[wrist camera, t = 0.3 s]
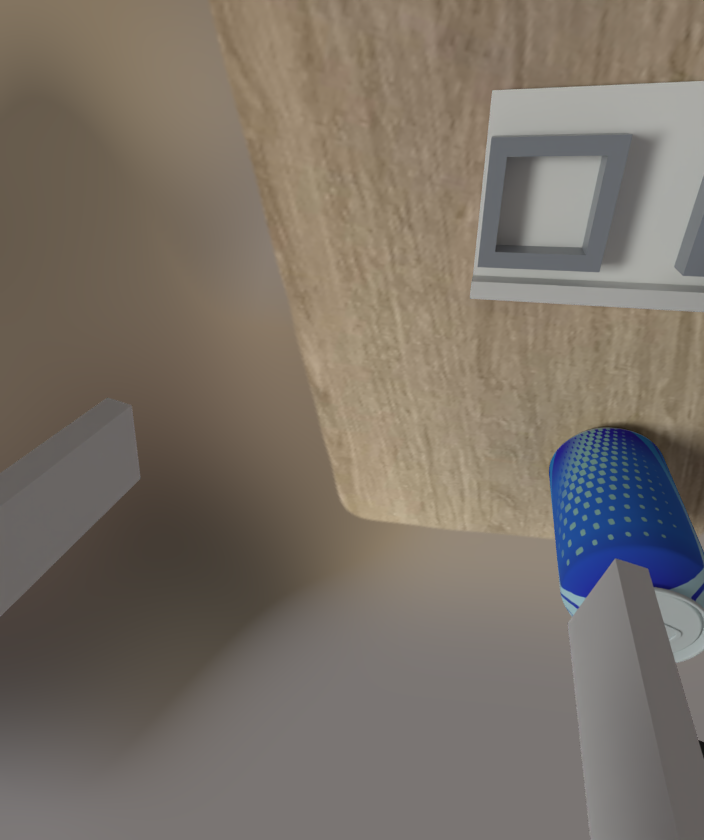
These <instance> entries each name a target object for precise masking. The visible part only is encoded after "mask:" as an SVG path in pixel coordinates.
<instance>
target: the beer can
mask: <svg viewBox="0 0 704 840" xmlns="http://www.w3.org/2000/svg"><path fill="white" fill-rule="evenodd" d="M549 477H550V488H551V498H552V509H553V519H554V529H555V540H556V550H557V561H558V571H559V582H560V591H561V597H562V600H563V603H564V605H565V607H566V609H567V610H568V612H569V613H570V615H571V616H572V617H573V615H574V614H575V612H576V611H577V610H578V608H579V607H580V606H581V604H582V603H583V602H584V600H585V599H586V597H587V596H588V595H589V593H590V592H591V591H592V589H593V588H594V587H595V585H596V584H597V582H598V581H599V580H600V578H601V577H602V576H603V574H604V573H605V572H606V570H607V569H608V567H609V566H610V565H611V563H612V562H613V561H614V559H615V558H616V559H619V560H622V561H626V562H629V563H632V564H635V565H638V566H641V567H645V568H648V570H649V573H650V577H651V580H652V584H653V587H654V591H655V594H656V597H657V601H658V604H659V608H660V611H661V614H662V618H663V621H664V625H665V628H666V632H667V635H668V638H669V642H670V645H671V649H672V652H673V655H674V659H675V662H676V663H678V662H682V661H685V660H688V659H690V658H693V657H694V656H696V655H698V654H699V653H701V652H702V651H704V552H703V549H702V546H701V544H700V542H699V539H698V537H697V535H696V532H695V530H694V528H693V525H692V523H691V521H690V518H689V516H688V514H687V511H686V509H685V507H684V504H683V502H682V500H681V497H680V495H679V492H678V490H677V488H676V485H675V483H674V481H673V478H672V476H671V474H670V471H669V469H668V467H667V464H666V462H665V460H664V457H663V455H662V453H661V451H660V450H659V449H658V447H657V446H656V445H655V444H654V443H653V442H652V441H650V440H649V439H648V438H646V437H645V436H643V435H641V434H638V433H636V432H633V431H630V430H626V429H620V428H611V427H602V428H594V429H590V430H586V431H584V432H581V433H579V434H577V435H575V436H574V437H572V438H570V439H569V440H567V441H566V442H565V443H563V444H562V445H561V446H560V447H559V448H558V449H557V451H556V452H555V454H554V455H553V457H552V460H551V463H550V467H549Z"/></svg>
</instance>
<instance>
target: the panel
mask: <svg viewBox="0 0 704 840" xmlns="http://www.w3.org/2000/svg"><path fill="white" fill-rule="evenodd" d="M470 299H487V300H504V301H521V302H538V303H555V304H572V305H590V306H607V307H624V308H641V309H658V310H675V311H693V312H704V81H692V82H670V83H648V84H625V85H603V86H580V87H558V88H536V89H513V90H492V99H491V108H490V118H489V128H488V137H487V147H486V156H485V166H484V176H483V185H482V195H481V205H480V214H479V224H478V234H477V243H476V253H475V262H474V272H473V278H472V283H471V293H470Z"/></svg>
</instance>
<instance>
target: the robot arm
mask: <svg viewBox="0 0 704 840" xmlns="http://www.w3.org/2000/svg"><path fill="white" fill-rule="evenodd" d="M139 479H140V470H139V463H138V454H137V445H136V437H135V429H134V421H133V413H132V405H129V404H126V403H123V402H120V401H117V400H113V399H110V398H106V399H105V400H103V401H102V402H100V403H99V404H98V405H96V406H95V407H94V408H92V409H90V410H89V411H88V412H86V413H85V414H83V415H82V416H81V417H79V418H78V419H76V420H75V421H73V422H72V423H71V424H69V425H68V426H66V427H65V428H64V429H62V430H61V431H59V432H58V433H56V434H55V435H54V436H52V437H51V438H50V439H48V440H47V441H45V442H44V443H42V444H41V445H39V446H38V447H37V448H35V449H34V450H32V451H31V452H30V453H28V454H27V455H25V456H24V457H22V458H21V459H20V460H18V461H17V462H15V463H14V464H13V465H11V466H10V467H8V468H7V469H5V470H4V471H3V472H1V473H0V616H1V615H2V614H3V613H4V612H5V611H6V610H7V609H8V608H9V607H10V606H11V605H12V604H13V603H15V601H16V600H18V599H19V598H20V597H21V596H22V595H23V594H24V593H25V592H26V591H27V590H28V589H29V588H30V587H31V586H32V585H33V584H34V583H35V582H36V581H37V580H38V579H39V578H40V577H41V576H42V575H43V574H44V573H45V572H46V571H47V570H48V569H49V568H50V567H51V566H52V565H53V564H54V563H55V562H56V561H57V560H58V559H59V558H60V557H61V556H62V555H63V554H64V553H65V552H66V551H67V550H68V549H69V548H70V547H71V546H72V545H73V544H74V543H75V542H76V541H77V540H79V538H80V537H82V536H83V535H84V534H85V533H86V531H88V530H89V529H90V527H92V526H93V525H94V524H95V523H96V522H97V521H98V520H99V519H100V518H101V517H102V516H103V515H104V514H105V513H106V512H107V511H108V510H109V509H110V508H111V507H112V506H113V505H114V504H115V503H116V502H117V501H118V500H119V499H120V498H121V497H122V496H123V495H124V494H125V493H126V492H127V491H128V490H129V489H130V488H131V487H132V486H133V485H134V484H135V483H136V482H137V481H138V480H139ZM568 630H569V640H570V650H571V659H572V668H573V678H574V688H575V696H576V707H577V716H578V726H579V735H580V744H581V754H582V764H583V773H584V783H585V792H586V802H587V812H588V821H589V831H590V840H704V742H702V741H699V740H698V737H697V734H696V731H695V727H694V724H693V720H692V717H691V714H690V710H689V707H688V703H687V700H686V697H685V693H684V690H683V686H682V683H681V679H680V676H679V673H678V669H677V666H676V662H675V659H674V655H673V652H672V649H671V645H670V642H669V638H668V635H667V632H666V628H665V625H664V621H663V618H662V614H661V611H660V608H659V604H658V601H657V597H656V594H655V591H654V587H653V584H652V580H651V577H650V573H649V570H648V568H645V567H641V566H638V565H635V564H632V563H629V562H626V561H622V560H619V559H616V558H615V559H614V561H613V562H612V563H611V565H610V566H609V567H608V569H607V570H606V572H605V573H604V574H603V576H602V577H601V578H600V580H599V581H598V582H597V584H596V585H595V587H594V588H593V589H592V591H591V592H590V593H589V595H588V596H587V597H586V599H585V600H584V602H583V603H582V604H581V606H580V607H579V608H578V610H577V611H576V612H575V614H574V615H573V617H572V618H571V619H570V621H569V622H568Z"/></svg>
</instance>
